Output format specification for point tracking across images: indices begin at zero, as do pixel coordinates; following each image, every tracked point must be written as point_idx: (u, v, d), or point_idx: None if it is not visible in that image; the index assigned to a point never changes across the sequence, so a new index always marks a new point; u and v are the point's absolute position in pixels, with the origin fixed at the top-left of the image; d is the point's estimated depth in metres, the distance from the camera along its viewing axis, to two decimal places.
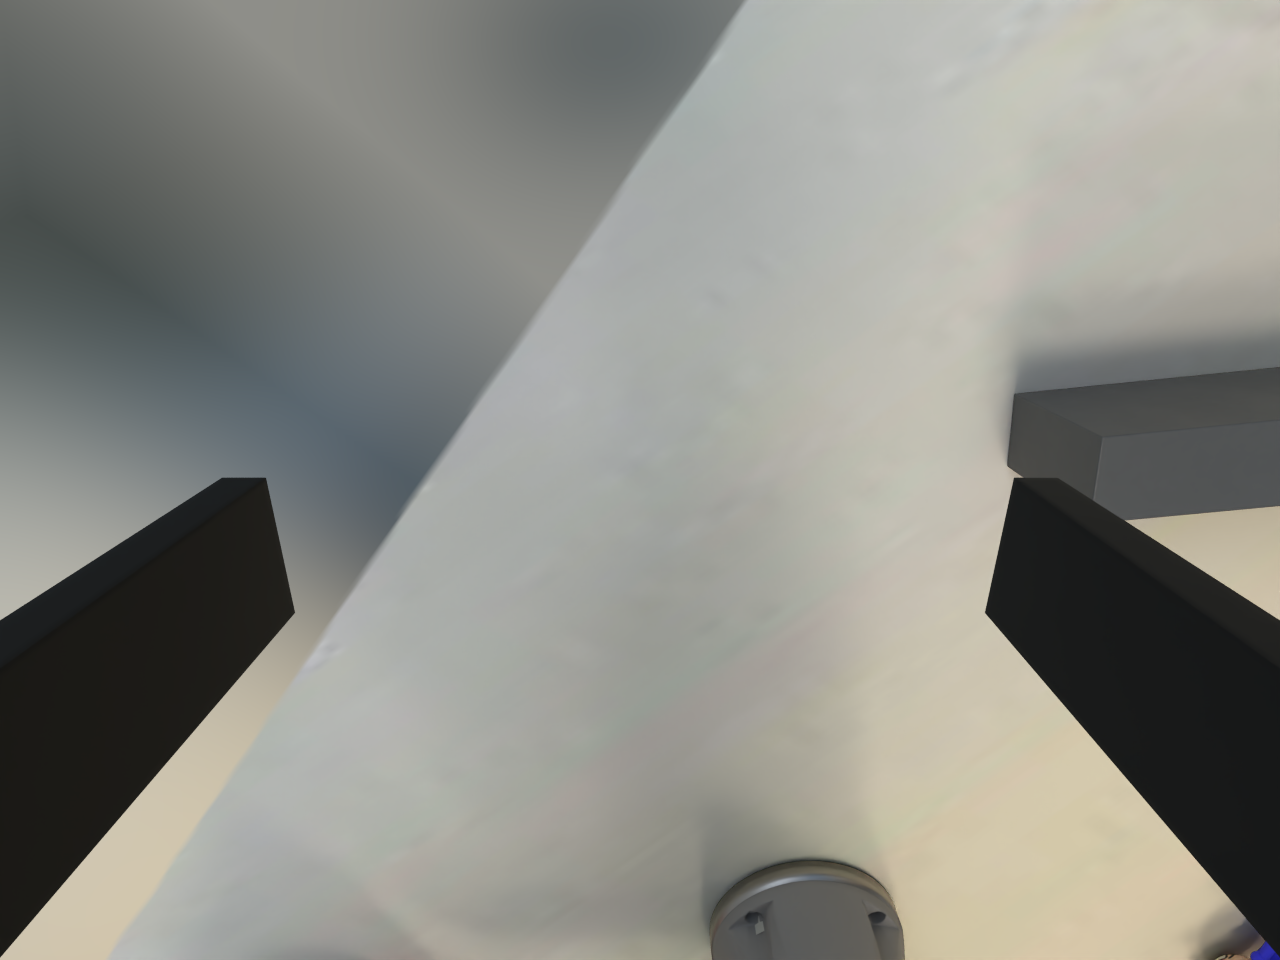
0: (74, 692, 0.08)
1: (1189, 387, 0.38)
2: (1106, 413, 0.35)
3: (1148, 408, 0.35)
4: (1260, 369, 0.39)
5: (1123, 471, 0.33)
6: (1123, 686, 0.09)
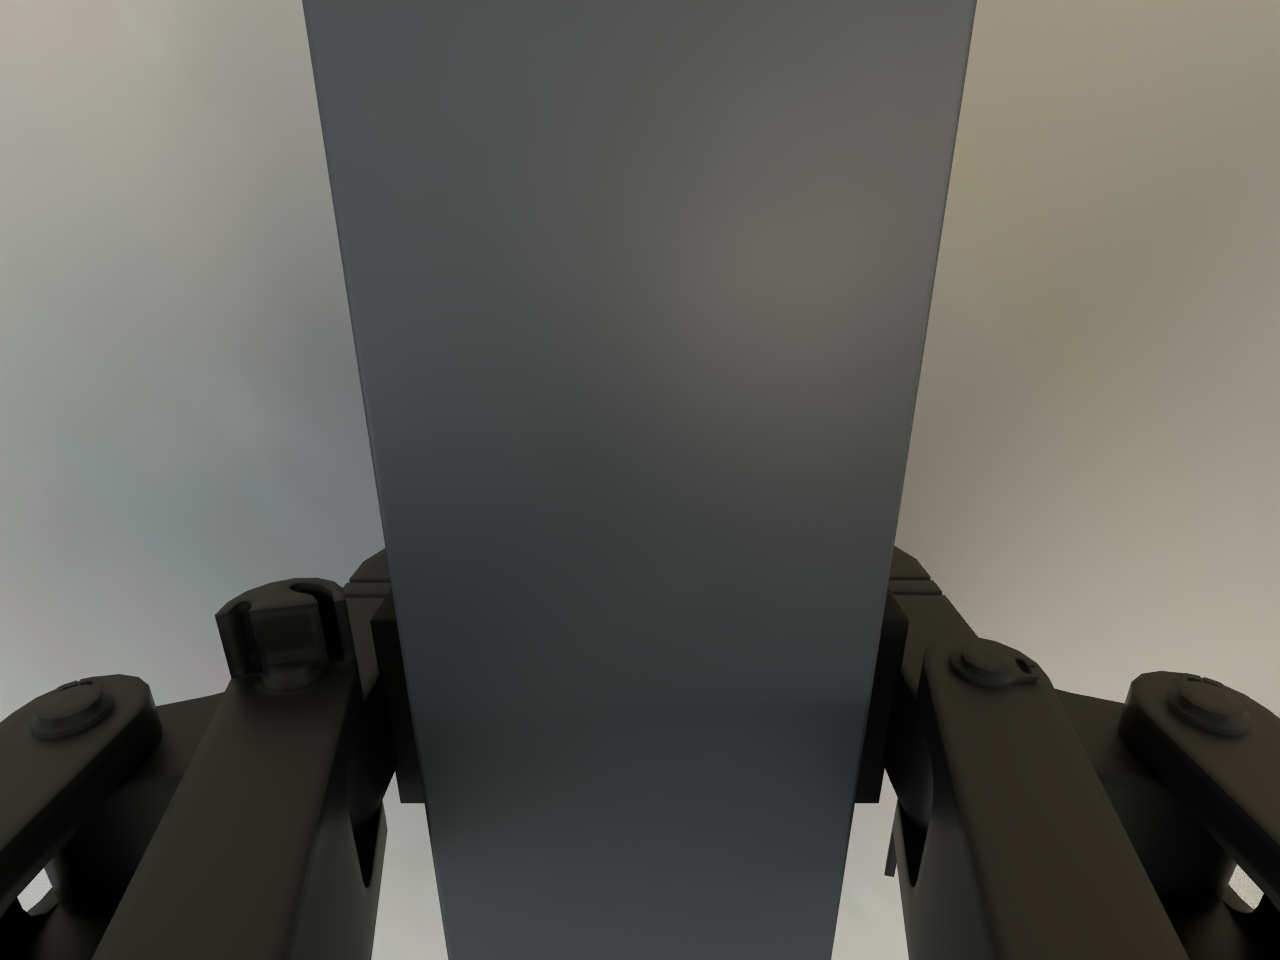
0: None
1: None
2: None
3: None
4: None
5: None
6: None
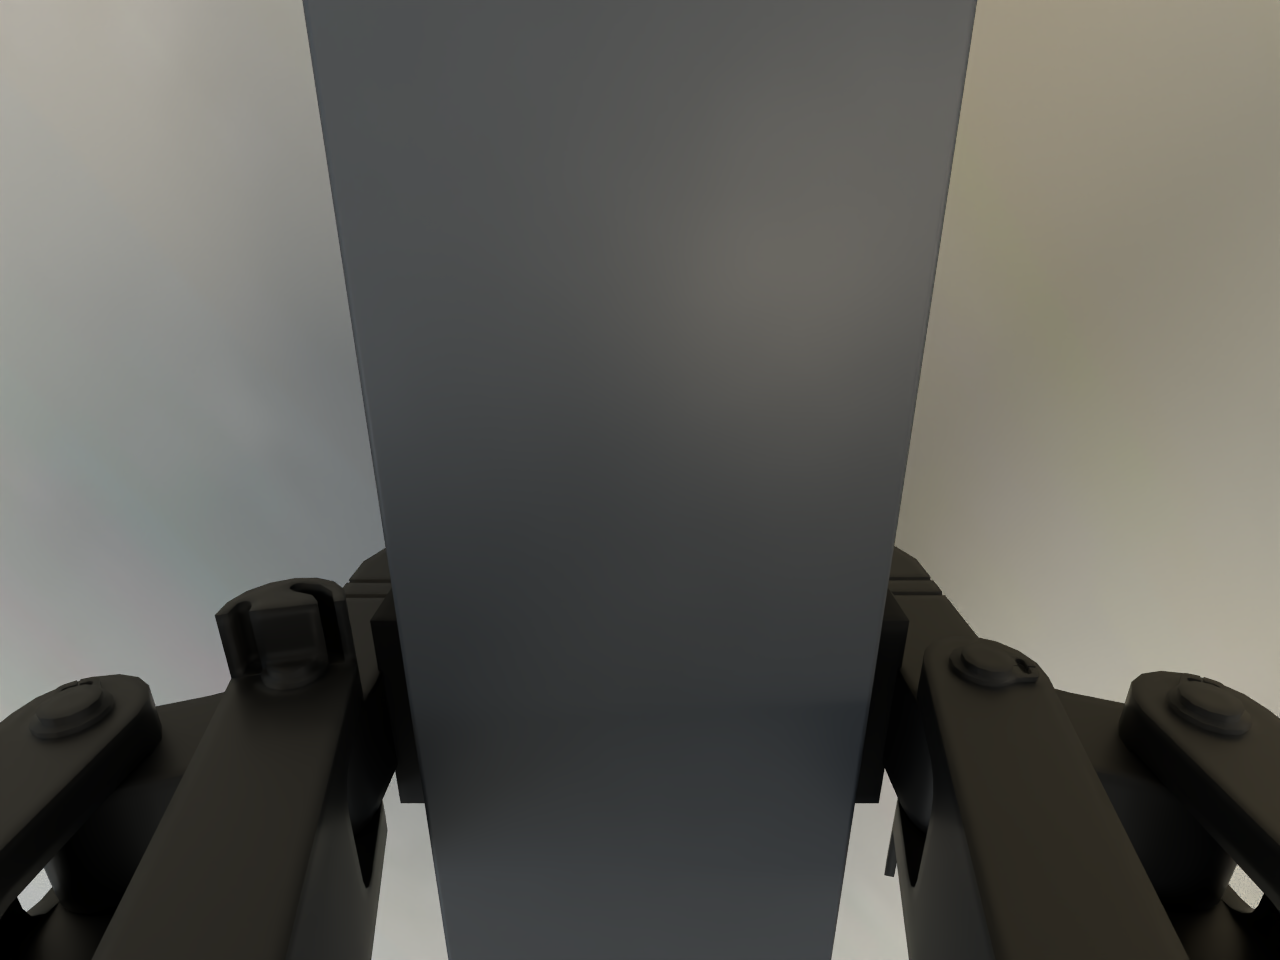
0: None
1: None
2: None
3: None
4: None
5: None
6: None
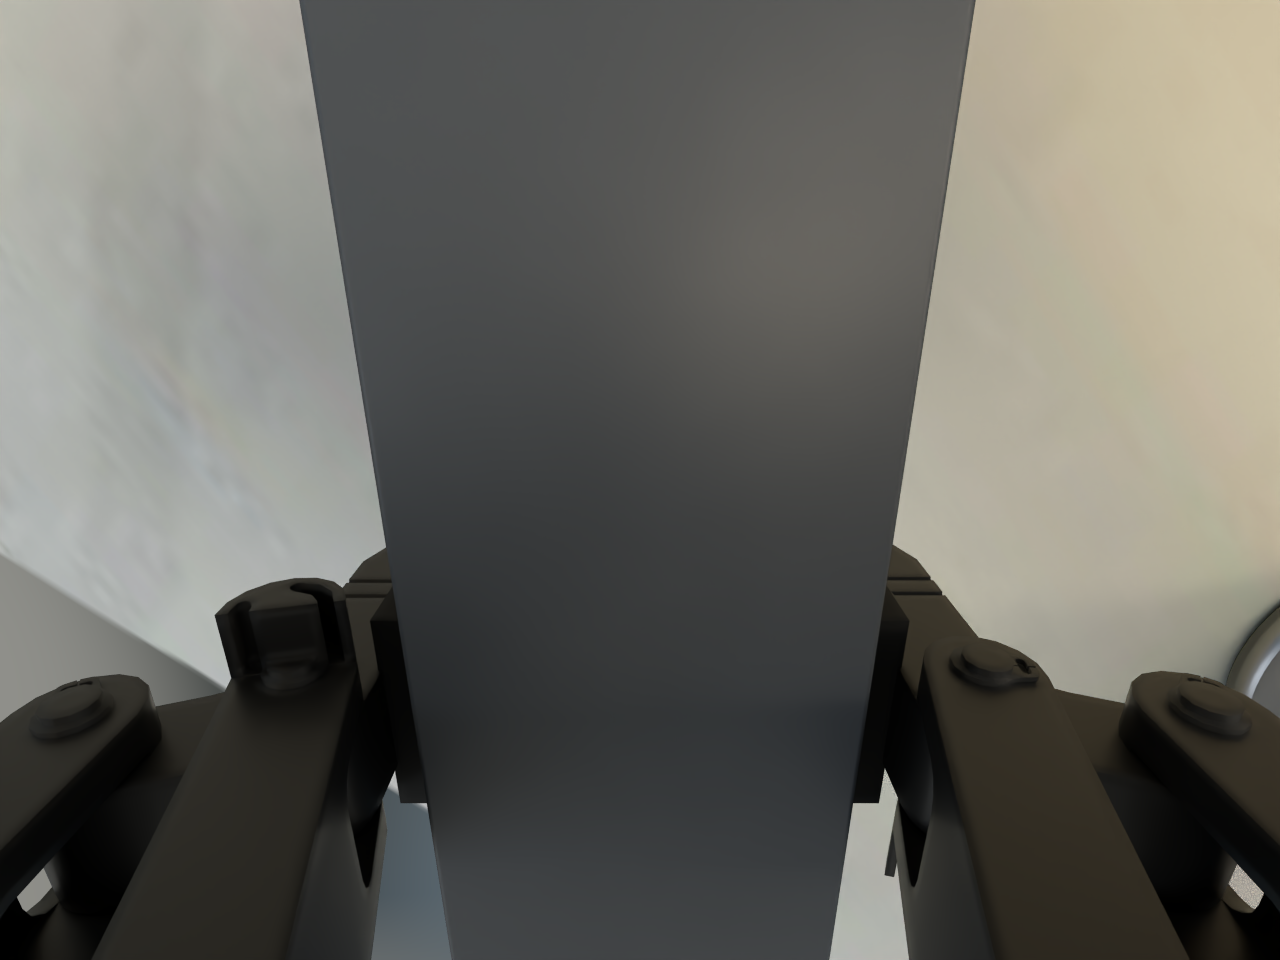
0: None
1: None
2: None
3: None
4: None
5: None
6: None
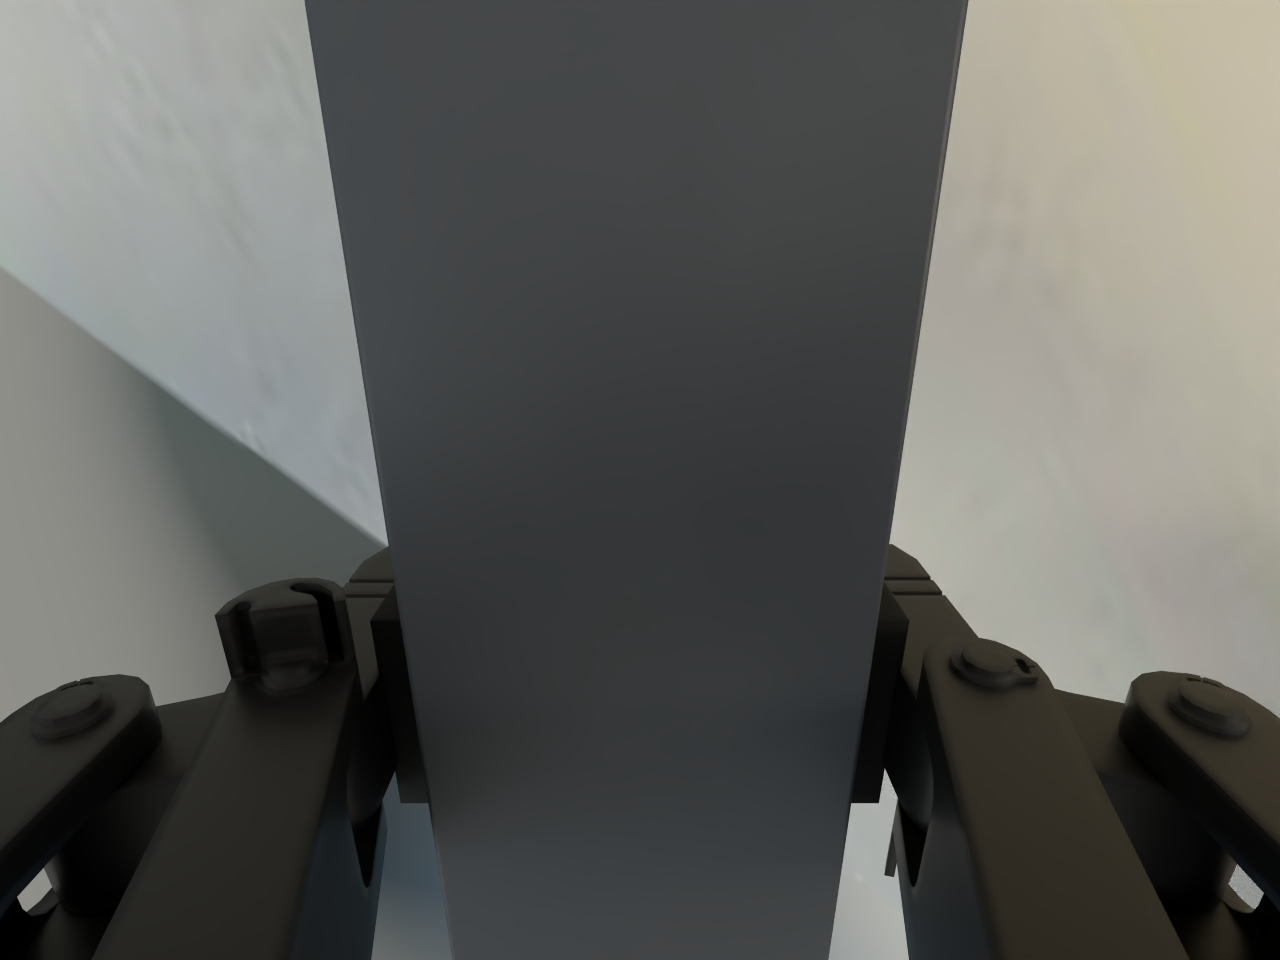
0: None
1: None
2: None
3: None
4: None
5: None
6: None
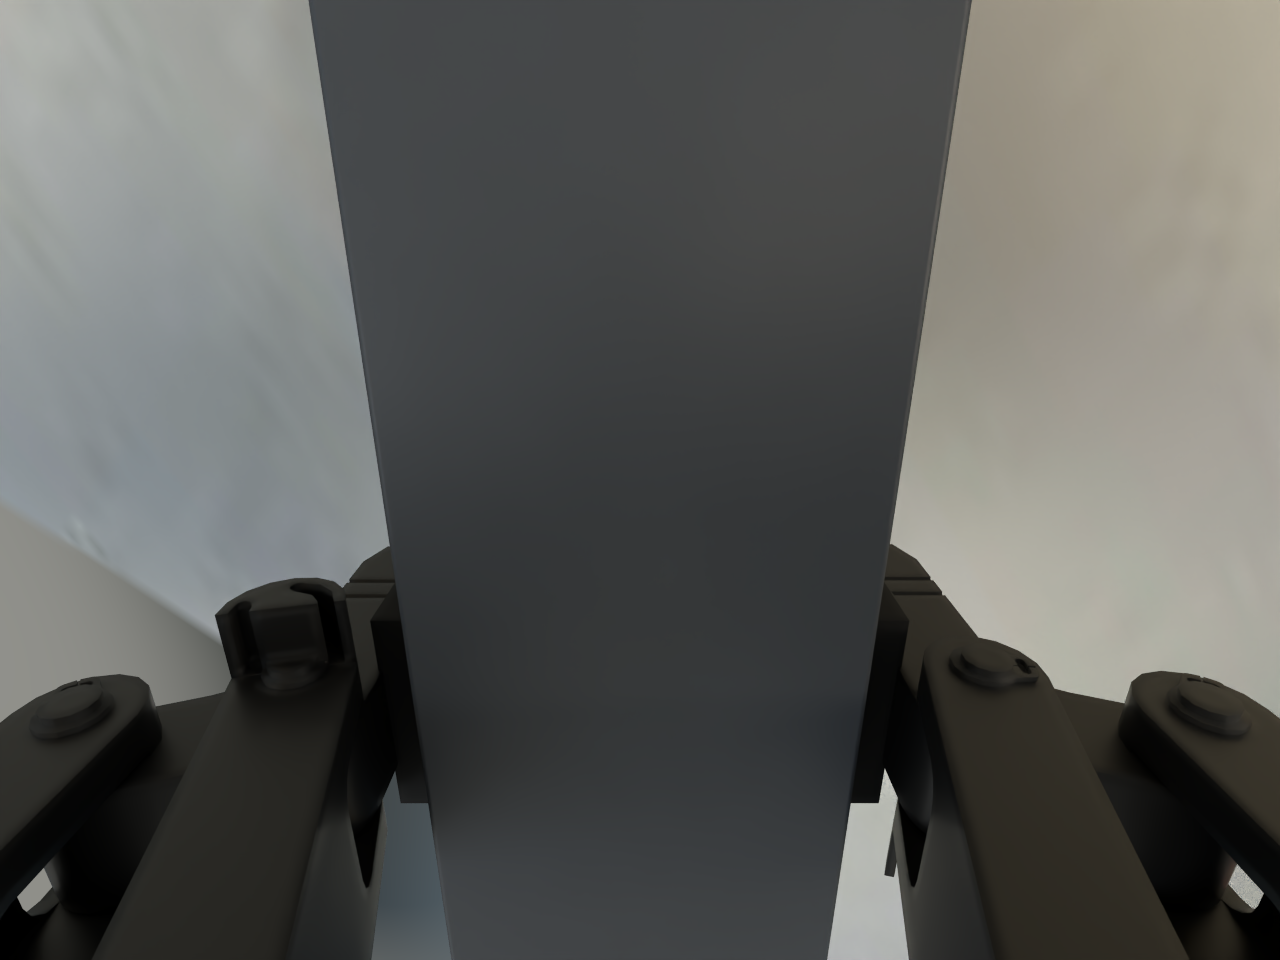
0: None
1: None
2: None
3: None
4: None
5: None
6: None
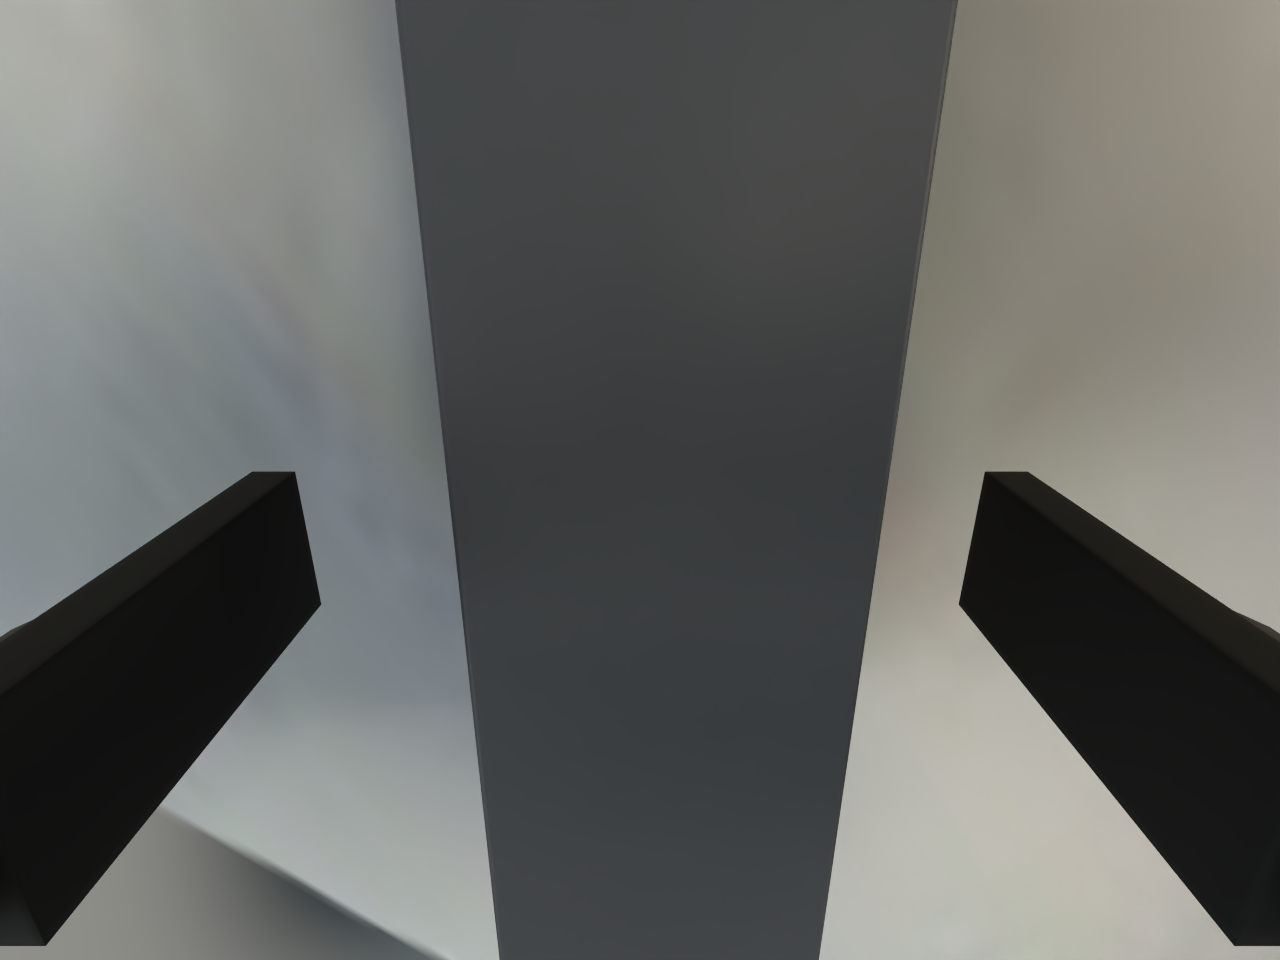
0: (123, 675, 0.08)
1: None
2: None
3: None
4: None
5: None
6: (1082, 672, 0.09)
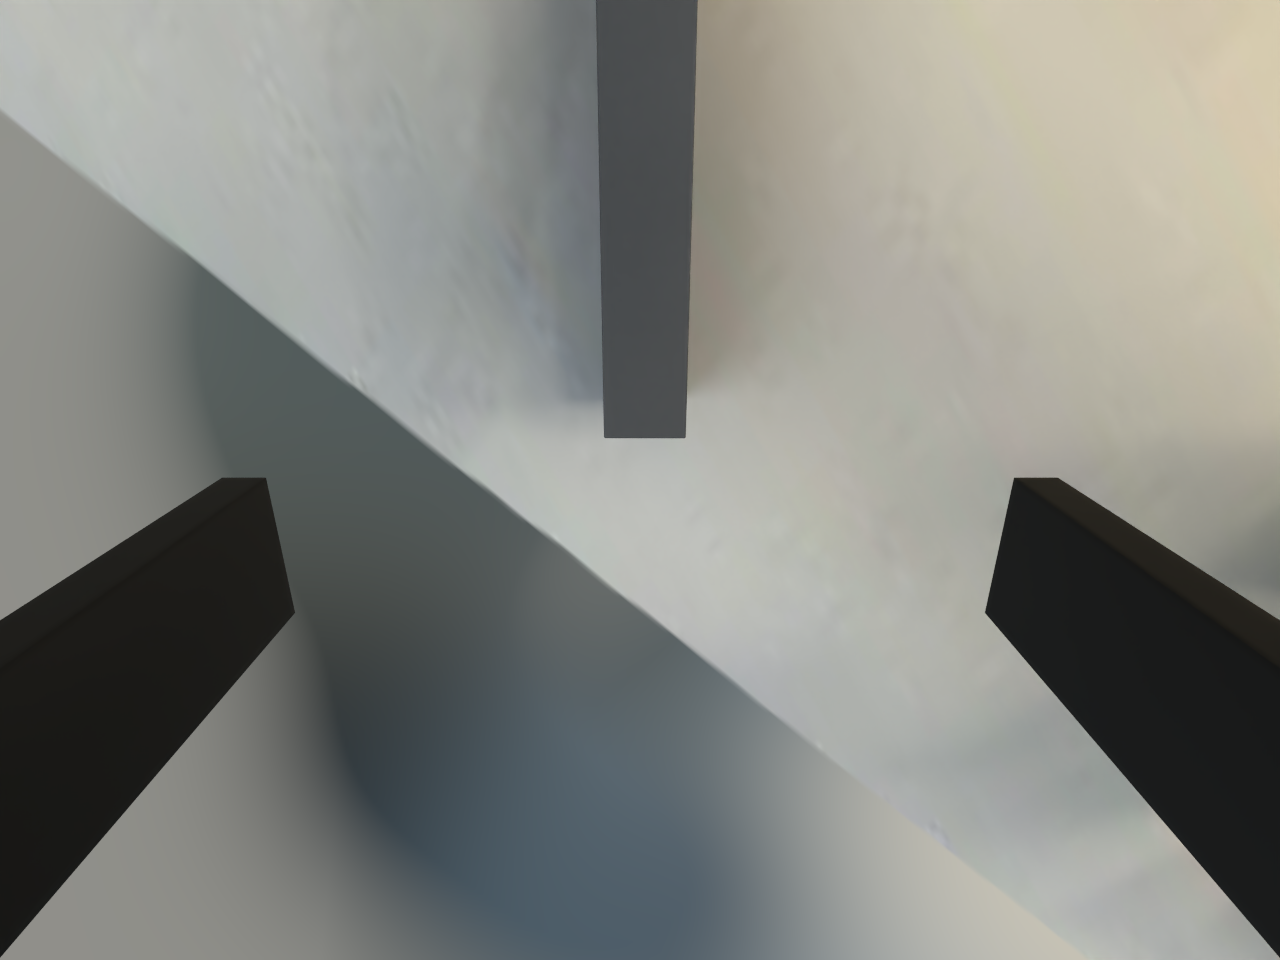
0: (73, 692, 0.08)
1: None
2: None
3: None
4: None
5: (637, 417, 0.38)
6: (1123, 686, 0.09)
